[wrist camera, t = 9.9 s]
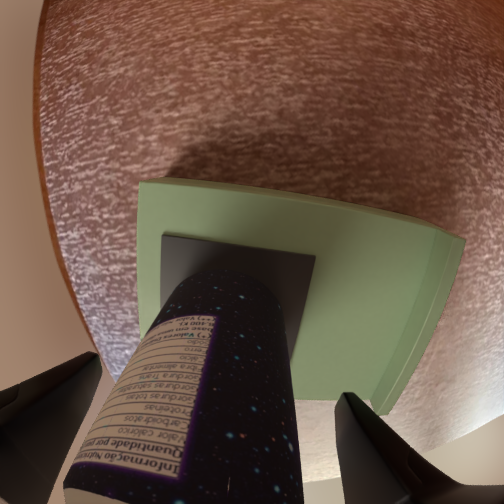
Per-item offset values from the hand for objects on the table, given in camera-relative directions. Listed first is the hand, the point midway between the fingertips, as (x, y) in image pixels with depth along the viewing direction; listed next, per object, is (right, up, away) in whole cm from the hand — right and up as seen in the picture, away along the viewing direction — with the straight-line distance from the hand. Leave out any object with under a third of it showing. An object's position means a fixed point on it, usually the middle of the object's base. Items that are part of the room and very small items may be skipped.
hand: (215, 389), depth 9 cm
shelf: (+3, +2, +8) cm, 9 cm away
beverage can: (0, +2, +5) cm, 5 cm away
